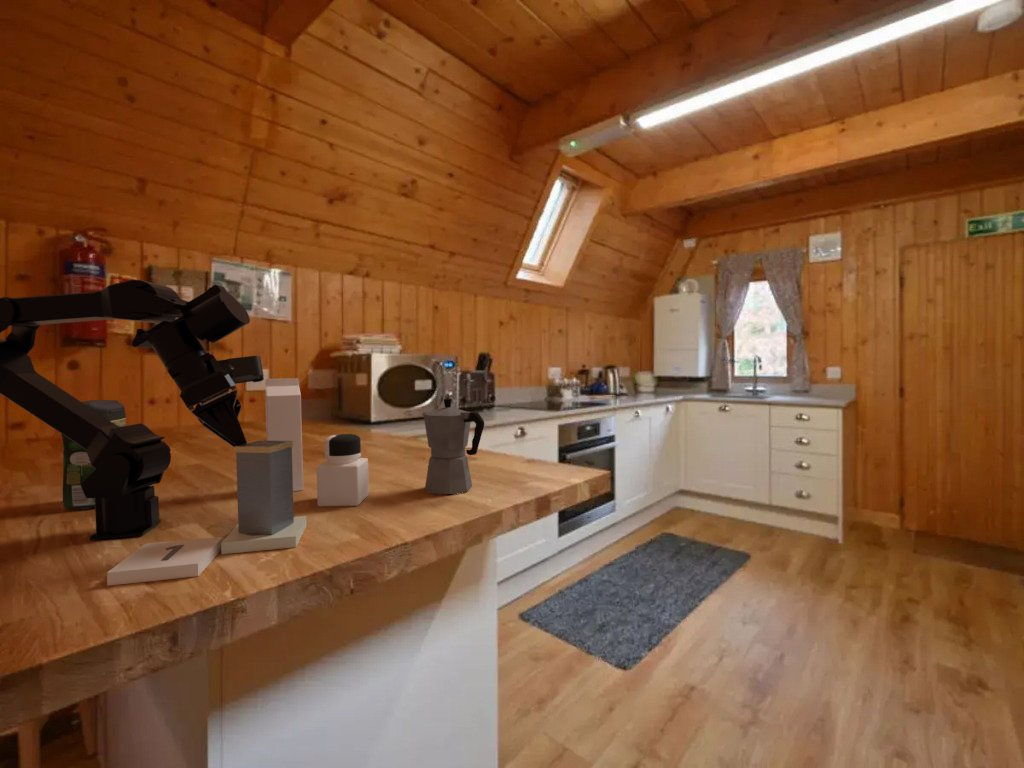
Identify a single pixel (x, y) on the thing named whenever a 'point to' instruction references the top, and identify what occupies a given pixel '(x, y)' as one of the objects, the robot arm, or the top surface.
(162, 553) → the tile
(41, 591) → the top surface
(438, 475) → the coffeepot
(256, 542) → the tile
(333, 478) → the medicine bottle
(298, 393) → the milk
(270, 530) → the tea tin
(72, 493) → the coffee jar
